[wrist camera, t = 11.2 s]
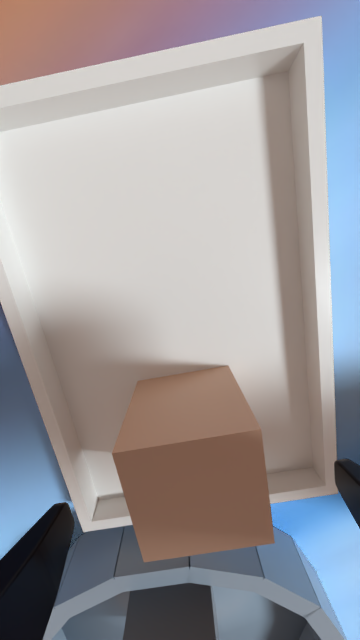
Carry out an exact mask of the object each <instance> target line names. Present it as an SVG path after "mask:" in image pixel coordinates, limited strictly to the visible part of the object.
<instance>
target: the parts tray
mask: <svg viewBox="0 0 360 640" xmlns="http://www.w3.org/2000/svg"><path fill="white" fill-rule="evenodd" d="M0 302H1V305H2V308H3V311H4V313H5V316H6V319H7V322H8V324H9V327H10V330H11V333H12V336H13V338H14V341H15V344H16V347H17V349H18V352H19V355H20V358H21V361H22V363H23V366H24V369H25V372H26V374H27V377H28V380H29V383H30V386H31V388H32V391H33V394H34V397H35V399H36V402H37V405H38V408H39V410H40V413H41V416H42V419H43V422H44V424H45V427H46V430H47V433H48V435H49V438H50V441H51V444H52V447H53V449H54V452H55V455H56V458H57V460H58V463H59V466H60V469H61V472H62V474H63V477H64V480H65V483H66V485H67V488H68V491H69V494H70V496H71V499H72V502H73V505H74V508H75V510H76V513H77V516H78V519H79V521H80V524H81V527H82V530H83V532H88V531H95V530H101V529H108V528H114V527H121V526H127V525H133V524H132V520H131V517H130V514H129V510H128V507H127V504H126V500H125V497H124V493H123V490H122V487H121V483H120V480H119V476H118V473H117V470H116V466H115V463H114V459H113V456H112V451H113V448H114V446H115V443H116V440H117V437H118V434H119V432H120V429H121V426H122V423H123V420H124V418H125V415H126V412H127V409H128V406H129V404H130V401H131V398H132V395H133V392H134V390H135V387H136V384H137V381H140V380H146V379H152V378H158V377H164V376H169V375H175V374H181V373H187V372H193V371H198V370H204V369H210V368H216V367H222V366H229V368H230V370H231V372H232V373H233V375H234V377H235V379H236V381H237V383H238V385H239V387H240V389H241V391H242V393H243V395H244V397H245V399H246V401H247V402H248V404H249V406H250V408H251V410H252V412H253V414H254V416H255V418H256V420H257V422H258V424H259V426H260V428H261V431H262V440H263V448H264V457H265V465H266V473H267V482H268V490H269V499H270V504H272V503H279V502H285V501H292V500H299V499H305V498H312V497H318V496H325V495H332V494H338V489H337V486H336V484H335V475H334V462H335V461H336V460H337V447H336V418H335V389H334V360H333V331H332V302H331V273H330V244H329V215H328V186H327V157H326V128H325V99H324V70H323V41H322V16H318V17H313V18H309V19H304V20H299V21H295V22H290V23H286V24H281V25H276V26H272V27H267V28H263V29H258V30H254V31H249V32H244V33H240V34H235V35H231V36H226V37H221V38H217V39H212V40H208V41H203V42H199V43H194V44H189V45H185V46H180V47H176V48H171V49H166V50H162V51H157V52H153V53H148V54H143V55H139V56H134V57H130V58H125V59H121V60H116V61H111V62H107V63H102V64H98V65H93V66H88V67H84V68H79V69H75V70H70V71H66V72H61V73H56V74H52V75H47V76H43V77H38V78H33V79H29V80H24V81H20V82H15V83H10V84H6V85H1V86H0Z"/></svg>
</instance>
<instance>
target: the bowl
mask: <svg viewBox="0 0 360 640" xmlns="http://www.w3.org/2000/svg"><path fill="white" fill-rule="evenodd" d="M273 532H274V541H275V543H274V544H267V545H260V546H253V547H246V548H239V549H233V550H226V551H219V552H212V553H205V554H198V555H192V556H185V557H178V558H171V559H164V560H157V561H151V562H144V561H143V558H142V554H141V551H140V548H139V544H138V541H137V537H136V534H135V531H134V527H133V525H127V526H121V527H114V528H108V529H101V530H95V531H88V532H87V533H85V534H83V535H81V536H80V537H79V538H78V539H77V540H76V542H75V543H74V544H73V545H72V547H71V548H70V549H69V551H68V555H67V559H66V563H65V567H64V571H63V575H62V579H61V583H60V586H59V590H58V594H57V597H56V600H55V603H54V607H53V610H52V613H51V616H50V619H49V622H48V625H47V628H46V631H45V634H44V637H43V640H123V635H124V628H125V621H126V614H127V608H128V601H129V594H130V591H134V590H141V589H148V588H155V587H162V586H169V585H176V584H183V583H195V584H202V585H209V586H212V587H213V593H214V599H215V605H216V613H217V622H218V631H219V639H220V640H347V639H346V636H345V634H344V632H343V630H342V628H341V625H340V623H339V621H338V619H337V617H336V614H335V612H334V610H333V608H332V606H331V603H330V601H329V599H328V597H327V595H326V592H325V590H324V588H323V586H322V584H321V581H320V579H319V577H318V575H317V573H316V571H315V569H314V568H313V567H312V565H311V564H310V562H309V561H308V560H307V558H306V557H305V555H304V554H303V552H302V551H301V550H300V548H299V547H298V545H297V544H296V543H295V541H294V540H293V538H292V537H291V536H289V535H287V534H286V533H284V532H282V531H280V530H279V529H277V528H275V527H273Z"/></svg>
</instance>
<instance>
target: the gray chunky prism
mask: <svg viewBox="0 0 360 640" xmlns="http://www.w3.org/2000/svg"><path fill="white" fill-rule="evenodd" d="M123 640H220V639H219V631H218V622H217V613H216V605H215V599H214V593H213V587H212V586H209V585H202V584H195V583H183V584H176V585H169V586H162V587H155V588H148V589H141V590H134V591H130V594H129V601H128V608H127V614H126V621H125V628H124V635H123Z"/></svg>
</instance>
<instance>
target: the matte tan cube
mask: <svg viewBox="0 0 360 640" xmlns="http://www.w3.org/2000/svg"><path fill="white" fill-rule="evenodd" d="M112 456H113V459H114V463H115V466H116V470H117V473H118V476H119V480H120V483H121V487H122V490H123V493H124V497H125V500H126V504H127V507H128V510H129V514H130V517H131V520H132V524H133V527H134V531H135V534H136V537H137V541H138V544H139V548H140V551H141V554H142V558H143V561H144V562H151V561H157V560H164V559H171V558H178V557H185V556H192V555H198V554H205V553H212V552H219V551H226V550H233V549H239V548H246V547H253V546H260V545H267V544H274V543H275V541H274V532H273V524H272V516H271V507H270V499H269V490H268V482H267V473H266V465H265V457H264V448H263V440H262V431H261V428H260V426H259V424H258V422H257V420H256V418H255V416H254V414H253V412H252V410H251V408H250V406H249V404H248V402H247V401H246V399H245V397H244V395H243V393H242V391H241V389H240V387H239V385H238V383H237V381H236V379H235V377H234V375H233V373H232V372H231V370H230V368H229V366H222V367H216V368H210V369H204V370H198V371H193V372H187V373H181V374H175V375H169V376H164V377H158V378H152V379H146V380H140V381H137V384H136V387H135V390H134V392H133V395H132V398H131V401H130V404H129V406H128V409H127V412H126V415H125V418H124V420H123V423H122V426H121V429H120V432H119V434H118V437H117V440H116V443H115V446H114V448H113V451H112Z"/></svg>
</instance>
